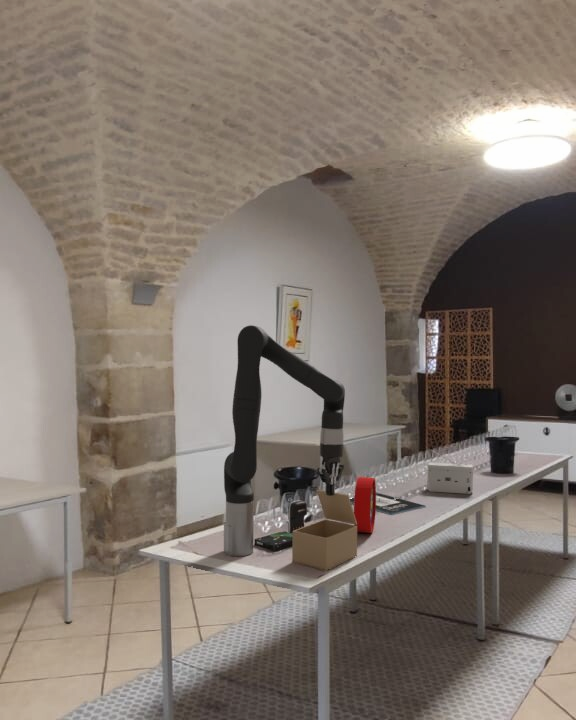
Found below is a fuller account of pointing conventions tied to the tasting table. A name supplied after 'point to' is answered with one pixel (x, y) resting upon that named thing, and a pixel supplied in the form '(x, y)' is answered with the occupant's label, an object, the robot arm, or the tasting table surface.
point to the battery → (296, 515)
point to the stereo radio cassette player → (450, 477)
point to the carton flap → (337, 507)
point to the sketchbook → (393, 504)
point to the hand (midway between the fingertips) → (330, 495)
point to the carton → (324, 544)
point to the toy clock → (365, 504)
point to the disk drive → (275, 541)
